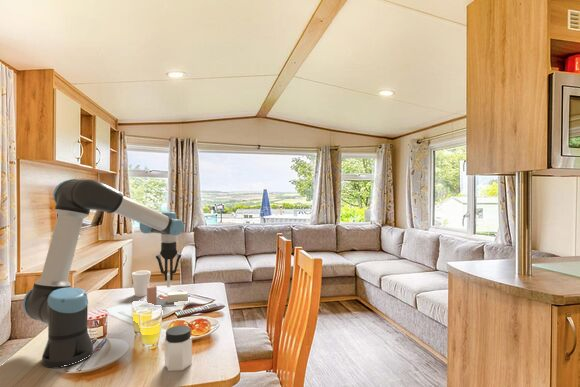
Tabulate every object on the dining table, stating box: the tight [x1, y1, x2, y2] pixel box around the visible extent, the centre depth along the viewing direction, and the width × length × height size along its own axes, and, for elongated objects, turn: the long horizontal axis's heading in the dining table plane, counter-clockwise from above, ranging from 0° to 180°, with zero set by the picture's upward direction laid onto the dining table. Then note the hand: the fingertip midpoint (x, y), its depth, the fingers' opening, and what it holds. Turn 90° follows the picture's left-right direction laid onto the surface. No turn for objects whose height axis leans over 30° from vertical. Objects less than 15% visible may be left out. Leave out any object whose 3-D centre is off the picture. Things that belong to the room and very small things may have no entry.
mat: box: [157, 294, 191, 308], centre depth 175 cm, size 16×22×1 cm
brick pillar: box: [146, 284, 158, 305], centre depth 167 cm, size 4×4×10 cm
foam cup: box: [131, 269, 152, 298], centre depth 185 cm, size 10×9×13 cm
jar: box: [164, 324, 193, 372], centre depth 114 cm, size 9×8×12 cm
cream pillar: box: [166, 291, 189, 303], centre depth 176 cm, size 4×4×10 cm
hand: (168, 286), depth 175 cm, fingers closed
